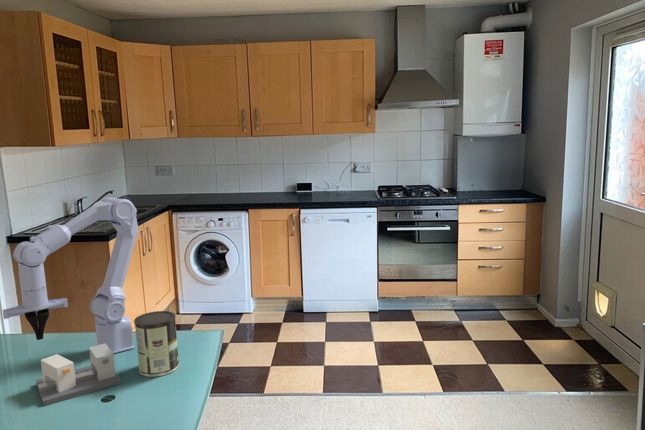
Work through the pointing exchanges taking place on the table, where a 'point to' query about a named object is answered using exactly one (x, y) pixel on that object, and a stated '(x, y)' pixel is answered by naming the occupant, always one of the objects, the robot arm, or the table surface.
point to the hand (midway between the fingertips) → (39, 338)
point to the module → (59, 372)
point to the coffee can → (156, 343)
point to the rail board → (84, 377)
